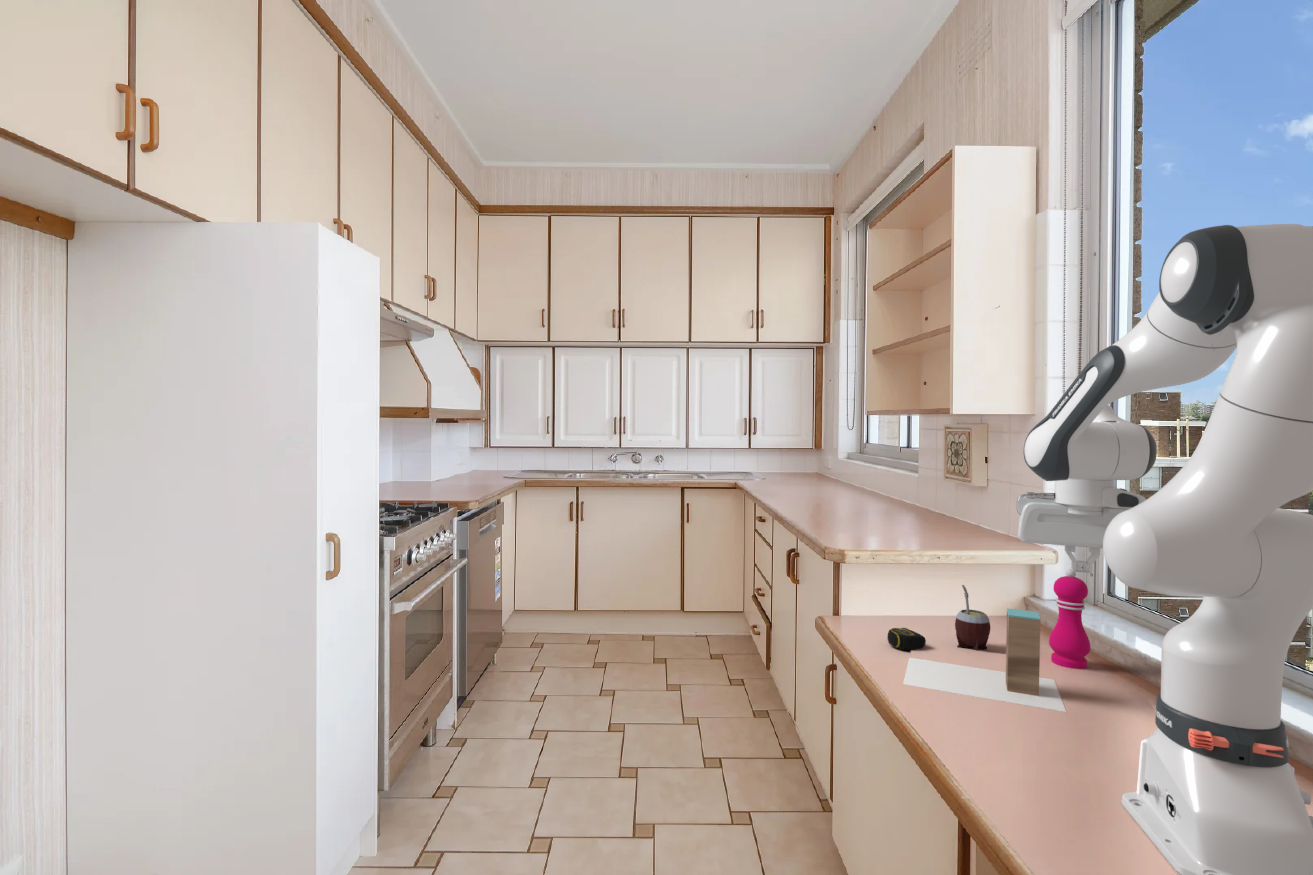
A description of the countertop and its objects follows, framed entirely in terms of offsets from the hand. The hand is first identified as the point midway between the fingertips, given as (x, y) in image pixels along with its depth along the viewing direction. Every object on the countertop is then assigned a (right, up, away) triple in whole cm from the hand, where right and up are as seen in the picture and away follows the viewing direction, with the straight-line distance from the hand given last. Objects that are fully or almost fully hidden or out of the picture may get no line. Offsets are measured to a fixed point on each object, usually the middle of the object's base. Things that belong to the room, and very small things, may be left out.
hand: (1081, 571), depth 115 cm
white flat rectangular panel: (-15, -23, +7) cm, 28 cm away
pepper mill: (+9, -23, +18) cm, 31 cm away
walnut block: (-8, -23, +4) cm, 24 cm away
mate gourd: (-6, -23, +27) cm, 36 cm away
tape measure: (-21, -23, +28) cm, 42 cm away
